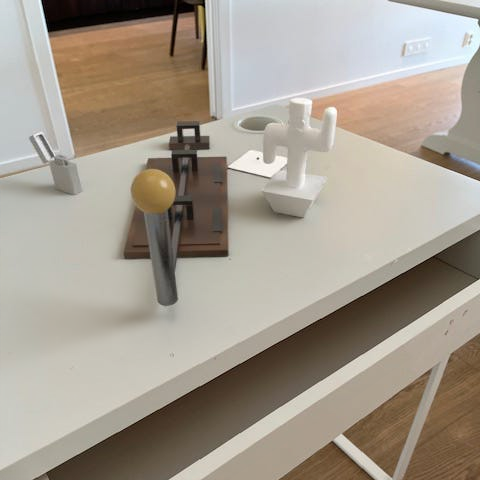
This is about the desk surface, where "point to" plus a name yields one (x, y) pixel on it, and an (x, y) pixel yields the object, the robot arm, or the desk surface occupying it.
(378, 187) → the desk surface
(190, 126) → the keeper
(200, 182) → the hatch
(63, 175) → the lighter
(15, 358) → the desk surface
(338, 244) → the desk surface
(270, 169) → the white piece
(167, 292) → the bolt
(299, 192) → the figurine
